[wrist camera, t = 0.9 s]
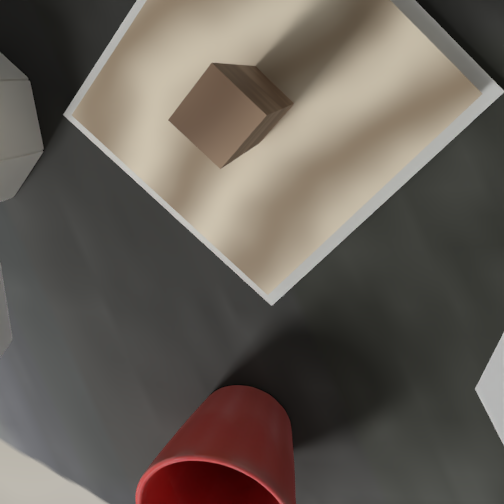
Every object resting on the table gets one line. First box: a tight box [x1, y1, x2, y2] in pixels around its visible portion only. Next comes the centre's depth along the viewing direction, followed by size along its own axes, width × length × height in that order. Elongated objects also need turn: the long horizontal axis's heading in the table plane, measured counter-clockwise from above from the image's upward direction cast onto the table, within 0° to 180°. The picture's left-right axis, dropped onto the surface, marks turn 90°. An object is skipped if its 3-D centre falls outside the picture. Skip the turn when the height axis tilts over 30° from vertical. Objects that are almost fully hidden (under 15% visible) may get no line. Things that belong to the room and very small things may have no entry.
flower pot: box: [136, 385, 296, 504], centre depth 36 cm, size 11×11×10 cm
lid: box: [72, 0, 482, 295], centre depth 26 cm, size 18×18×10 cm
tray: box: [63, 0, 504, 306], centre depth 31 cm, size 20×20×1 cm
